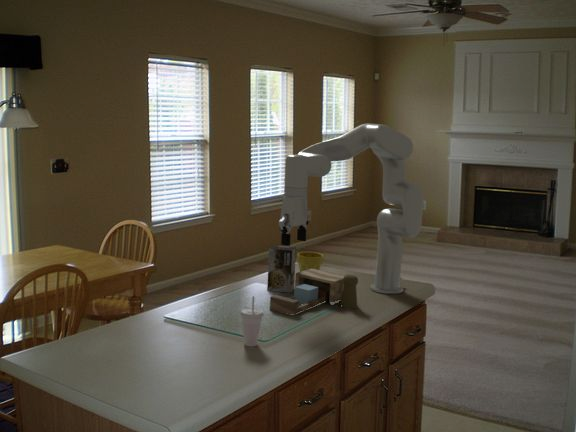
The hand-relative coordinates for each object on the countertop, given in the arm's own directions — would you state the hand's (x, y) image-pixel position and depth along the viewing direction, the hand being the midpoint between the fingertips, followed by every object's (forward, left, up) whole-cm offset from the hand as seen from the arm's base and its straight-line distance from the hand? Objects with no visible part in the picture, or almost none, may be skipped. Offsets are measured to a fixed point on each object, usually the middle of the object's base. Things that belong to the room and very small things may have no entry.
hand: (293, 242), depth 220 cm
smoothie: (+38, +12, -22) cm, 46 cm away
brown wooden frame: (-3, +2, -22) cm, 22 cm away
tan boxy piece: (-18, +2, -22) cm, 28 cm away
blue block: (-7, +2, -22) cm, 24 cm away
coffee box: (-16, -15, -22) cm, 31 cm away
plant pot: (-39, -17, -22) cm, 48 cm away
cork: (-16, +14, -22) cm, 31 cm away
